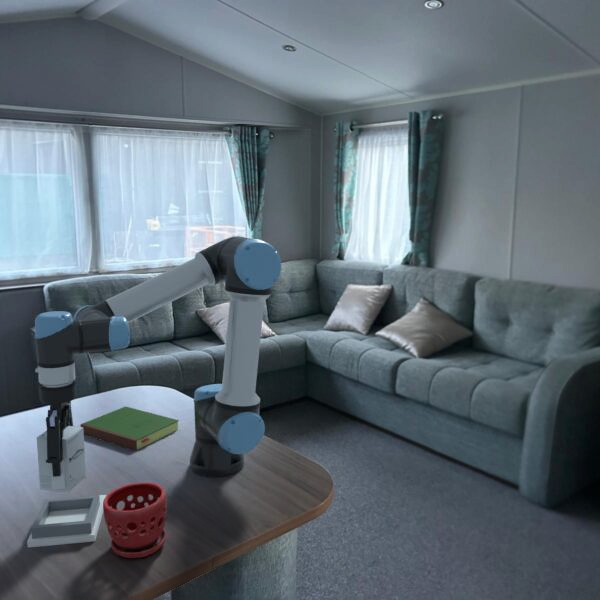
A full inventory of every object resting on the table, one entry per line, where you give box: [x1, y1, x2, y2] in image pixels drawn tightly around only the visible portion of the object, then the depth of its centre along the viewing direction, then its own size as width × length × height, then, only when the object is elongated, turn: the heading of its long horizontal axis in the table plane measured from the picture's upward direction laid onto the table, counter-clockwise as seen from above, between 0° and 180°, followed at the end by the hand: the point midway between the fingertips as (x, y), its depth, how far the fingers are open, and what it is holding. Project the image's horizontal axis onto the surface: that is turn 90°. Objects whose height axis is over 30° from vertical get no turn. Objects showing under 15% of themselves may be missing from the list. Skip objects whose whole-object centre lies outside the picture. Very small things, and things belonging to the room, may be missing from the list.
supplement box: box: [36, 425, 87, 494], centre depth 134 cm, size 7×7×13 cm
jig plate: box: [26, 494, 107, 548], centre depth 139 cm, size 14×18×4 cm
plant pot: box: [103, 481, 168, 559], centre depth 129 cm, size 13×13×12 cm
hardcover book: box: [79, 405, 180, 452], centre depth 191 cm, size 25×19×4 cm
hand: (63, 477), depth 135 cm, fingers closed on supplement box, 9 cm apart
